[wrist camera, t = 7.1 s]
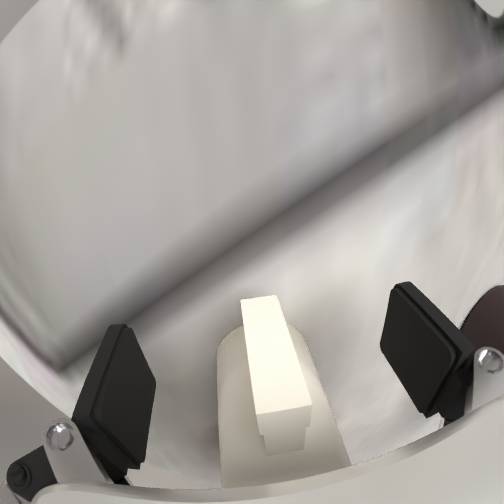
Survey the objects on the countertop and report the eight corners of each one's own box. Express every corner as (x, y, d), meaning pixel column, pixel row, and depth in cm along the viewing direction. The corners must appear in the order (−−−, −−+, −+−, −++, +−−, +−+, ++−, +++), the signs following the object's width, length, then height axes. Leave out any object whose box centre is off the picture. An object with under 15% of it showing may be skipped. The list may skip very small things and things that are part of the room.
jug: (305, 375, 16) (341, 488, 9) (224, 387, 16) (233, 507, 8) (306, 264, 13) (387, 405, 6) (197, 279, 13) (182, 442, 5)
